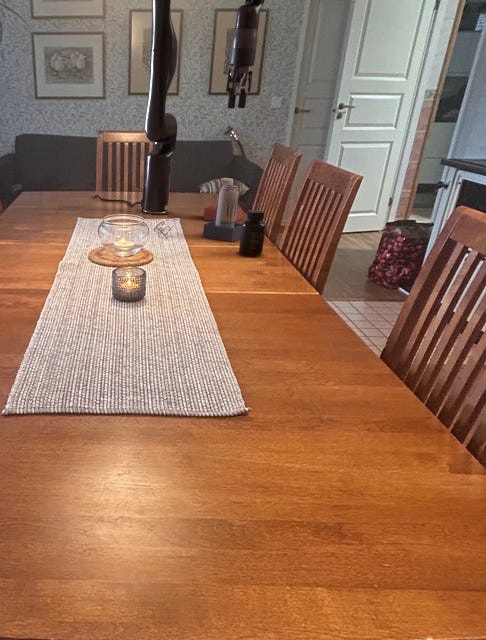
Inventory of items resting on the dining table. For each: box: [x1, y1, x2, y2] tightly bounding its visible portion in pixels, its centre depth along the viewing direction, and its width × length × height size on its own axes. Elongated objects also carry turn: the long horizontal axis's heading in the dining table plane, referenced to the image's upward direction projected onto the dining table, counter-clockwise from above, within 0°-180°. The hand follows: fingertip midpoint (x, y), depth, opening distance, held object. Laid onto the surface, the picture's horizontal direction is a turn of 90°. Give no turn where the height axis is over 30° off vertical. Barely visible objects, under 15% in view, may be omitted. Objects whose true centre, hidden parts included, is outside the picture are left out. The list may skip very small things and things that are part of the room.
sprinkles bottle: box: [217, 177, 234, 202], centre depth 217 cm, size 5×5×14 cm
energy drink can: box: [215, 184, 240, 228], centre depth 190 cm, size 6×6×15 cm
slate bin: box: [202, 220, 243, 243], centre depth 193 cm, size 10×10×4 cm
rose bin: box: [203, 204, 242, 222], centre depth 220 cm, size 10×10×4 cm
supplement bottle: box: [238, 209, 267, 258], centre depth 172 cm, size 7×7×12 cm
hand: (236, 108), depth 191 cm, fingers open, 8 cm apart
